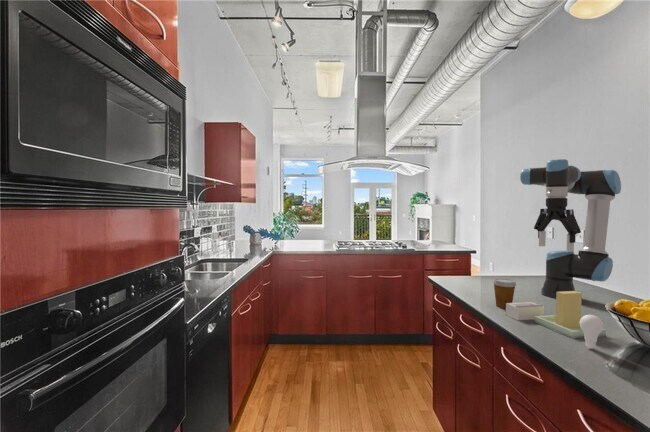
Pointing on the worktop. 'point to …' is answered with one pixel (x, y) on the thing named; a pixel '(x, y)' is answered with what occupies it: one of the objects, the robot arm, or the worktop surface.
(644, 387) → the worktop surface
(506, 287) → the disposable coffee cup
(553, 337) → the worktop surface
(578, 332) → the tray
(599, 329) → the lightbulb
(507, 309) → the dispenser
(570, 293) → the pale yellow tall box
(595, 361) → the worktop surface
